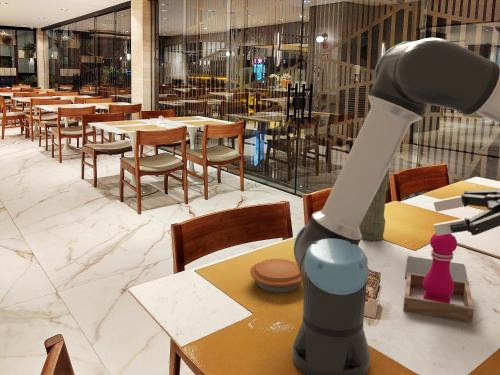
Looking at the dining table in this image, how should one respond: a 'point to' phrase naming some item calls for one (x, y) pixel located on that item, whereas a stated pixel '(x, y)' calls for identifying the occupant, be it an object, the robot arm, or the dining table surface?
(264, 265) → the pie
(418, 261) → the grey square plate
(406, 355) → the dining table surface
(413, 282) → the walnut tray
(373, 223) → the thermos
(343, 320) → the robot arm
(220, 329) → the dining table surface
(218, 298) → the dining table surface
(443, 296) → the pepper mill
